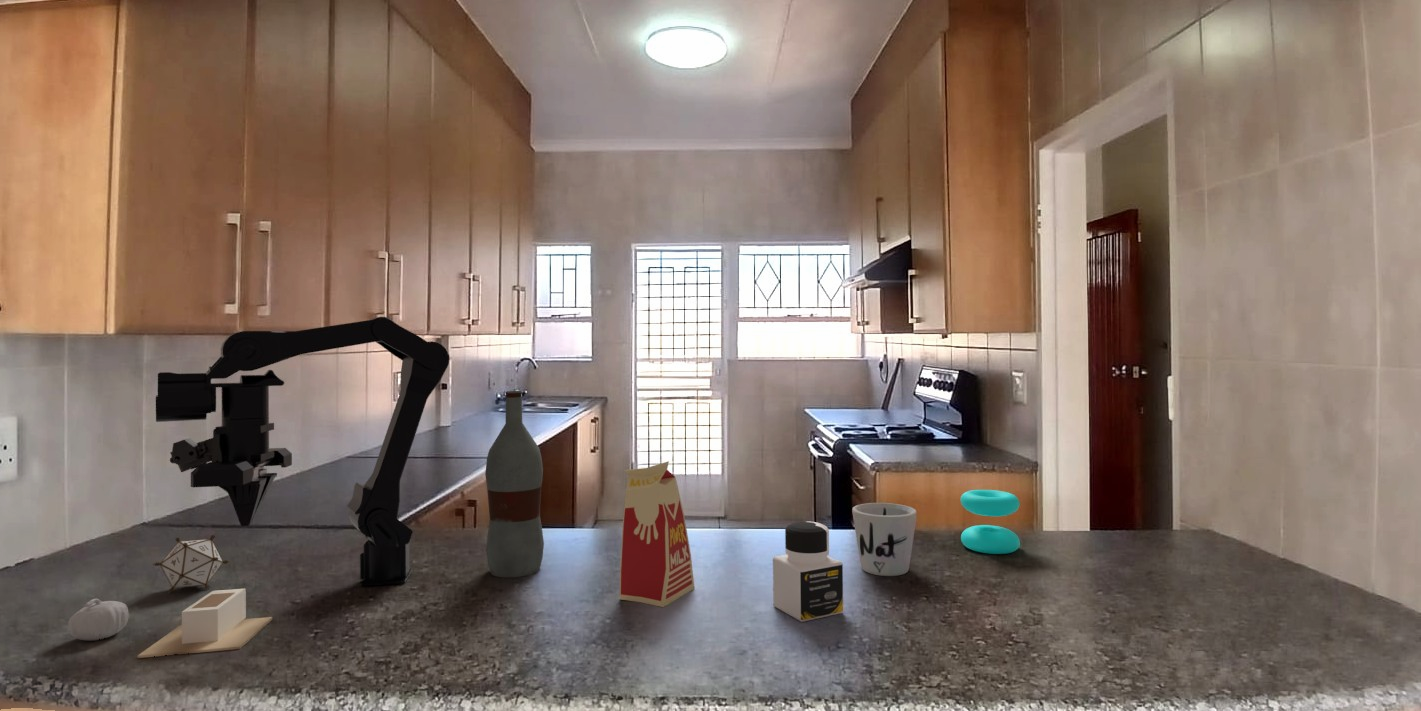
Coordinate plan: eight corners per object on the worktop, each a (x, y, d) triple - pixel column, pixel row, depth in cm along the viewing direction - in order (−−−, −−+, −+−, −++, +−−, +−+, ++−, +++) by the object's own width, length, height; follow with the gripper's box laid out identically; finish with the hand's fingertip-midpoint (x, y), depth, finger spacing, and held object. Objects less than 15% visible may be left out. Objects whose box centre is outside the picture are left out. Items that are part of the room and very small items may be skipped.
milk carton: (694, 587, 107) (693, 457, 107) (665, 608, 99) (664, 466, 99) (643, 580, 111) (641, 454, 111) (611, 599, 103) (609, 463, 103)
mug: (847, 575, 112) (846, 513, 112) (863, 550, 126) (862, 495, 126) (914, 582, 109) (913, 518, 109) (923, 556, 122) (922, 499, 122)
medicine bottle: (801, 623, 93) (800, 533, 93) (772, 606, 99) (771, 521, 99) (844, 613, 96) (843, 526, 96) (813, 597, 102) (812, 516, 102)
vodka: (541, 559, 123) (540, 389, 123) (546, 575, 114) (544, 391, 114) (485, 565, 120) (484, 390, 120) (486, 581, 111) (484, 393, 111)
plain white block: (245, 588, 96) (217, 608, 88) (245, 617, 96) (218, 640, 88) (212, 590, 95) (181, 611, 87) (213, 620, 95) (182, 643, 87)
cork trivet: (272, 619, 96) (272, 616, 96) (240, 648, 86) (240, 646, 86) (181, 626, 94) (181, 624, 94) (137, 658, 84) (137, 655, 84)
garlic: (78, 650, 86) (77, 608, 86) (62, 641, 89) (62, 600, 89) (137, 633, 92) (137, 594, 92) (121, 625, 94) (120, 587, 94)
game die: (194, 615, 108) (178, 575, 102) (152, 592, 109) (133, 552, 104) (245, 572, 115) (232, 533, 109) (205, 551, 117) (190, 511, 111)
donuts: (1012, 501, 120) (953, 495, 126) (1012, 559, 120) (954, 550, 126) (1024, 491, 128) (969, 486, 134) (1025, 546, 128) (969, 538, 134)
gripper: (213, 414, 108) (214, 514, 108) (144, 425, 90) (145, 546, 90) (292, 412, 111) (293, 510, 111) (241, 423, 93) (241, 540, 93)
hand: (246, 525), depth 101 cm, fingers closed
